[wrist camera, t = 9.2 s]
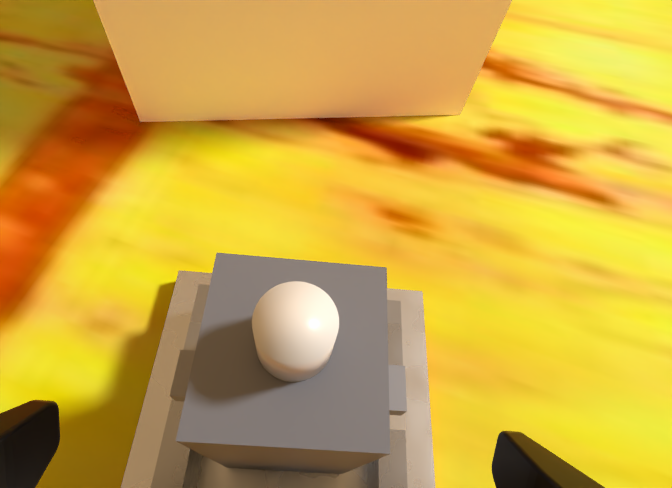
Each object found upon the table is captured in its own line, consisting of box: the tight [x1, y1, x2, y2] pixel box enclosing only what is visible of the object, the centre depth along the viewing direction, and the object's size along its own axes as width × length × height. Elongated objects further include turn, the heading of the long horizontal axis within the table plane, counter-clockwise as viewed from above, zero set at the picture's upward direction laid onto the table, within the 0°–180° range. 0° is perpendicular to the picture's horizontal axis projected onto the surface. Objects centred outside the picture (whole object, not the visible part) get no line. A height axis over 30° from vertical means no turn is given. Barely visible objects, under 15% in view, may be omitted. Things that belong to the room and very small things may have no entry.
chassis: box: [121, 271, 435, 488], centre depth 17 cm, size 12×12×4 cm
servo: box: [170, 253, 407, 474], centre depth 13 cm, size 4×7×10 cm, turn 87°
